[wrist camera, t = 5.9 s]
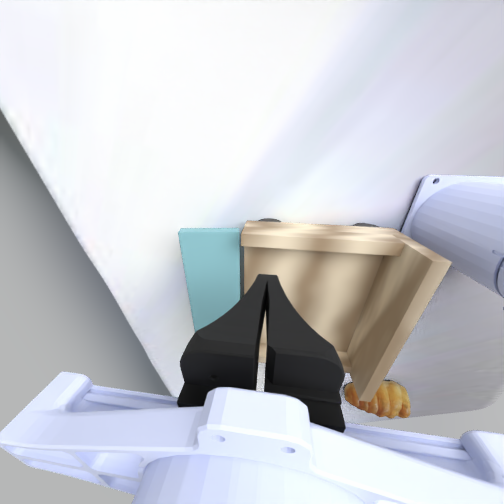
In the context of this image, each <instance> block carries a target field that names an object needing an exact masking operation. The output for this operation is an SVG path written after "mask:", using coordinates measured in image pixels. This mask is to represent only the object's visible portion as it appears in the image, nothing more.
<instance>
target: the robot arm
mask: <svg viewBox="0 0 504 504" xmlns="http://www.w3.org/2000/svg"><path fill="white" fill-rule="evenodd" d="M434 179H436V182H435V183H433V180H434ZM401 233H403V234H404V235H406V236H408V237H409V238H411V239H413V240H415V241H416V242H418V243H420V244H421V245H423V246H425V247H427V248H428V249H430V250H432V251H434V252H435V253H437V254H439V255H440V256H442V257H444V258H446V259H447V260H449V261H451V262H452V264H451V265H450V266H452V267H454V268H455V269H457V270H458V271H460V272H462V273H463V274H465V275H467V276H468V277H470V278H472V279H473V280H475V281H477V282H478V283H480V284H482V285H483V286H485V287H487V288H488V289H490V290H491V291H493V292H495V293H496V294H498V295H500V296H501V297H503V298H504V177H490V176H454V175H427V176H425V177H424V178H423V179H422V181H421V184H420V186H419V189H418V191H417V194H416V196H415V199H414V201H413V203H412V206H411V208H410V211H409V213H408V216H407V218H406V221H405V223H404V226H403V228H402V231H401ZM503 310H504V307H503ZM265 311H266V335H267V349H266V367H265V385H264V392H261V391H256V385H257V372H258V360H259V348H260V340H261V334H262V328H263V323H264V317H265ZM180 367H181V371H182V375H183V378H184V382H185V383H184V385H183V388H182V390H181V393H180V395H179V398H177V397H171V396H164V395H157V394H150V393H143V392H137V391H129V390H123V389H116V388H109V387H103V386H96V385H93V383H92V381H91V379H90V378H89V377H88V376H86V375H83V374H79V373H71V372H65V371H64V372H61V373H60V374H59V375H58V376H57V377H56V378H55V379H54V380H53V381H52V382H51V383H50V384H49V385H47V386H46V387H45V388H44V389H43V390H42V391H41V393H39V395H37V396H36V397H35V398H34V400H32V401H31V402H30V403H29V404H28V405H27V406H26V407H25V408H24V409H23V410H22V411H21V412H20V413H19V414H18V415H17V416H16V417H15V418H14V419H13V420H12V421H11V422H10V423H9V424H8V425H7V426H6V427H5V428H4V429H3V430H2V431H1V432H0V447H1V448H3V449H4V450H6V451H7V452H8V453H10V454H11V455H13V456H14V457H16V458H17V459H19V460H20V461H22V462H23V463H24V464H26V465H27V466H29V467H33V468H37V469H42V470H47V471H51V472H55V473H59V474H63V475H67V476H71V477H74V478H77V479H81V480H85V481H88V482H91V483H95V484H99V485H102V486H105V487H108V488H112V489H115V490H119V491H122V492H126V493H129V494H132V495H135V497H134V499H133V502H132V504H504V434H500V433H494V432H486V431H479V430H471V431H467V432H465V433H464V434H462V436H461V437H460V439H455V438H448V437H441V436H434V435H428V434H421V433H414V432H407V431H401V430H394V429H387V428H380V427H373V426H367V425H360V424H353V423H347V422H344V418H343V414H342V410H341V407H340V405H341V397H340V394H339V391H340V388H341V386H342V383H343V381H344V377H345V372H344V368H343V365H342V363H341V360H340V358H339V356H338V354H337V352H336V350H335V348H334V346H333V345H332V344H331V343H329V342H328V341H327V340H325V339H324V338H323V337H322V336H320V335H319V334H318V333H317V332H316V331H315V330H314V329H312V328H311V327H310V326H309V325H308V323H307V322H306V321H305V320H304V319H303V318H302V317H301V316H300V315H299V313H298V312H297V311H296V310H295V308H294V307H293V305H292V304H291V302H290V301H289V299H288V298H287V296H286V294H285V292H284V290H283V288H282V286H281V284H280V281H279V278H278V276H277V275H269V274H258V275H257V277H256V279H255V281H254V283H253V284H252V286H251V287H250V288H249V290H248V291H247V292H246V293H245V295H244V296H243V297H242V298H241V299H240V300H239V301H238V302H237V303H236V304H235V305H234V306H233V307H232V308H231V309H230V310H229V311H227V312H226V313H225V314H224V315H222V316H221V317H219V318H218V319H217V320H215V321H214V322H212V323H210V324H209V325H207V326H205V327H203V328H201V329H199V330H197V331H196V332H195V334H194V335H193V337H192V338H191V340H190V341H189V343H188V345H187V347H186V349H185V351H184V353H183V355H182V357H181V360H180Z"/></svg>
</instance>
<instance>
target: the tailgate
mask: <svg viewBox="0 0 504 504" xmlns="http://www.w3.org/2000/svg"><path fill="white" fill-rule="evenodd" d="M178 235H179V241H180V247H181V253H182V258H183V264H184V270H185V276H186V282H187V288H188V294H189V299H190V305H191V311H192V317H193V323H194V329H195V332H196V331H197V330H199V329H201V328H203V327H205V326H207V325H209V324H210V323H212V322H214V321H215V320H217V319H218V318H219V317H221V316H222V315H224V314H225V313H226V312H227V311H229V310H230V309H231V308H232V307H233V306H234V305H235V304H236V303H237V302H238V301H239V300H240V245H239V228H181V229H180V231H179V232H178Z"/></svg>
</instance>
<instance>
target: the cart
mask: <svg viewBox="0 0 504 504" xmlns="http://www.w3.org/2000/svg"><path fill="white" fill-rule="evenodd" d="M241 246H244V295H245V293H246V292H247V291H248V290H249V288H250V287H251V286H252V284H253V283H254V281H255V279H256V277H257V275H258V274H269V275H277V276H278V278H279V281H280V284H281V286H282V288H283V290H284V292H285V294H286V296H287V298H288V299H289V301H290V302H291V304H292V305H293V307H294V308H295V310H296V311H297V312H298V313H299V315H300V316H301V317H302V318H303V319H304V320H305V321H306V322H307V323H308V325H309V326H310V327H311V328H312V329H314V330H315V331H316V332H317V333H318V334H319V335H320V336H322V337H323V338H324V339H325V340H327V341H328V342H329V343H331V344H332V345H333V346H334V348H335V350H336V352H337V354H338V356H339V358H340V360H341V363H342V365H343V368H344V372H345V373H350V376H351V378H352V381H353V384H354V387H355V390H356V393H357V395H358V398H359V401H367V402H371V400H372V399H373V397H374V395H375V393H376V392H377V390H378V388H379V387H380V385H381V383H382V381H383V380H384V378H385V376H386V375H387V373H388V371H389V369H390V368H391V366H392V364H393V363H394V361H395V359H396V358H397V356H398V354H399V352H400V351H401V349H402V347H403V346H404V344H405V342H406V340H407V339H408V337H409V335H410V334H411V332H412V330H413V329H414V327H415V325H416V323H417V322H418V320H419V318H420V317H421V315H422V313H423V311H424V310H425V308H426V306H427V305H428V303H429V301H430V300H431V298H432V296H433V294H434V293H435V291H436V289H437V288H438V286H439V284H440V282H441V281H442V279H443V277H444V276H445V274H446V272H447V271H448V269H449V267H450V265H451V264H452V262H451V261H449V260H447V259H446V258H444V257H442V256H440V255H439V254H437V253H435V252H434V251H432V250H430V249H428V248H427V247H425V246H423V245H421V244H420V243H418V242H416V241H415V240H413V239H411V238H409V237H408V236H406V235H404V234H403V233H401V232H399V231H397V230H396V229H394V228H380V227H378V226H375V225H372V224H366V223H357V224H355V225H354V226H342V225H323V224H303V223H284V222H281V221H279V220H277V219H261V220H259V221H247V222H246V224H245V226H244V228H243V230H242V233H241ZM266 349H267V335H266V311H265V317H264V323H263V328H262V334H261V340H260V348H259V360H258V362H261V363H266Z"/></svg>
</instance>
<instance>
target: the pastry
mask: <svg viewBox="0 0 504 504" xmlns="http://www.w3.org/2000/svg"><path fill="white" fill-rule="evenodd" d="M344 394H345V400H346V401H348V402H349V403H350V404H352V405H353V406H355V407H357V408H358V409H361V410H365V411H366V412H367V413H373V414H376V415H377V416H379V417H383V416H386V417H388V418H394V417H395V416H399V417H401V418H407V417H408V416H409V415H410V401H409V397H408V394H407V391H406V389H405V388H404V387H403V386H401V385H399V384H397V383H396V382H394V381H391V380H390V381H389V382H387V381H384V380H383V381H382V383H381V385H380V387H379V388H378V390H377V392H376V393H375V395H374V397H373V399H372V400H371V402H367V401H359V398H358V395H357V393H356V390H355V387H354V384H353V383H349V384H347V385H346V386H345V389H344Z"/></svg>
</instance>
